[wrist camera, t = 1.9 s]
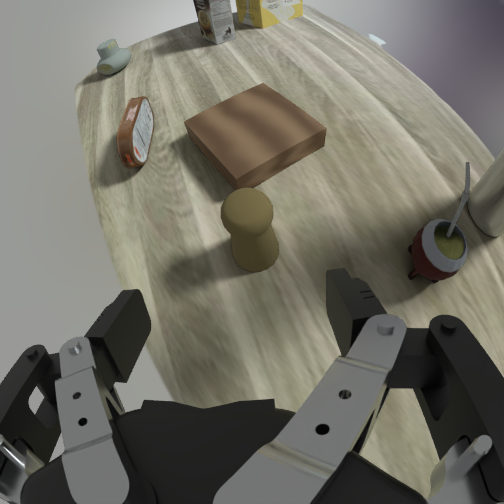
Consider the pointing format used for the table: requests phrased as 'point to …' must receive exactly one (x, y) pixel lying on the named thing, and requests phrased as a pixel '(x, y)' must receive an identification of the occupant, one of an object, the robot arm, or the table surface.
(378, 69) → the table surface
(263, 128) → the walnut base block
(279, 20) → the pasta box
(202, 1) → the brown snack box
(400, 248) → the table surface
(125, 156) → the tin
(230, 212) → the cork
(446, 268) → the mate gourd
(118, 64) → the air freshener
